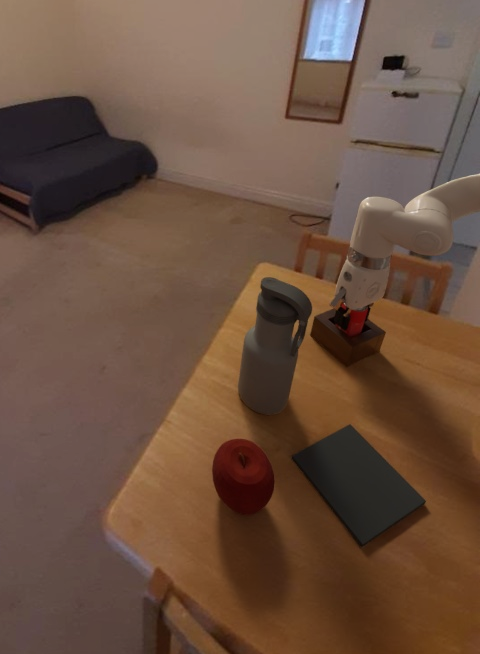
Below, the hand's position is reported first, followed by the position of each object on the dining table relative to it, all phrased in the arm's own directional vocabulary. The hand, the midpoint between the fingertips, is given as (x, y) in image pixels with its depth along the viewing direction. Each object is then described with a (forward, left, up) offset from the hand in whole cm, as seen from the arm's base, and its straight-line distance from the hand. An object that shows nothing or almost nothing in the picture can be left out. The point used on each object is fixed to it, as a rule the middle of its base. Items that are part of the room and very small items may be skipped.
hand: (350, 321), depth 91 cm
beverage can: (0, 0, -7) cm, 7 cm away
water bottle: (+26, +3, -7) cm, 27 cm away
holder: (0, 0, -7) cm, 7 cm away
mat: (+23, +22, -7) cm, 33 cm away
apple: (+42, +16, -7) cm, 45 cm away
